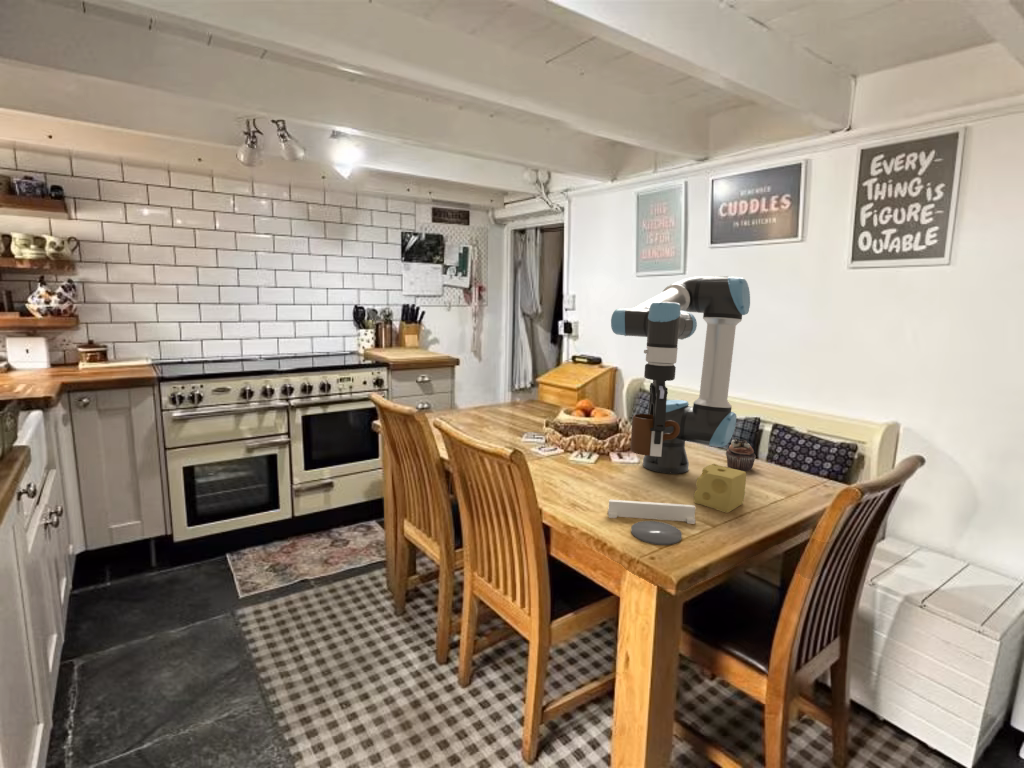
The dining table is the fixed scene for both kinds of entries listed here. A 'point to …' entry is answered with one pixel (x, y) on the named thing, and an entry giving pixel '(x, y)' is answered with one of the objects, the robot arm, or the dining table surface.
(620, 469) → the dining table surface
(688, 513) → the rail
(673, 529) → the disc
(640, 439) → the mug
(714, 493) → the cheese
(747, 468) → the cupcake
